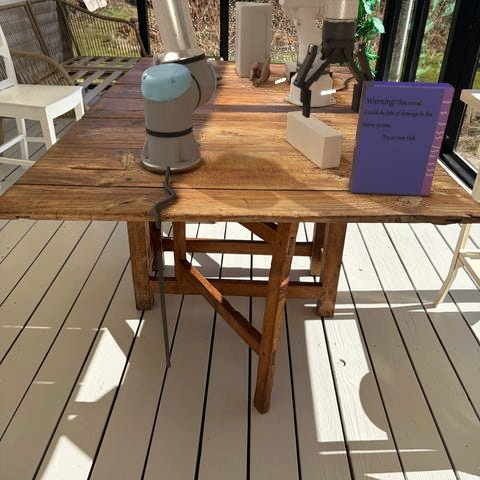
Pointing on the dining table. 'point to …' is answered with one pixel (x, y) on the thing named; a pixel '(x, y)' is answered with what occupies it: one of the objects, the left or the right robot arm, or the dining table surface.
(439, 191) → the dining table surface
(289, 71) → the disc drive
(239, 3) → the white upright box
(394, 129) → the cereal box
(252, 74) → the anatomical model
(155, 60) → the toy
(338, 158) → the bar
